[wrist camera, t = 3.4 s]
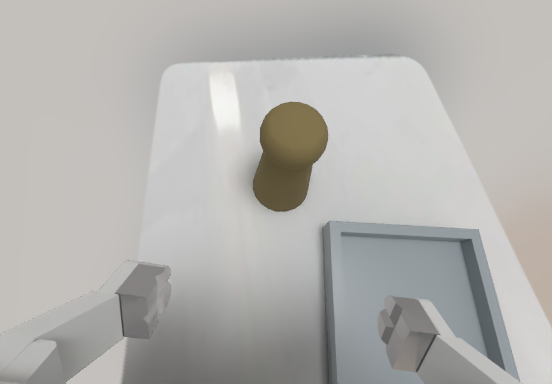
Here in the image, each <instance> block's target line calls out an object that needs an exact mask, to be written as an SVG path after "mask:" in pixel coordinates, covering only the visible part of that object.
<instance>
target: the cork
mask: <svg viewBox="0 0 552 384" xmlns="http://www.w3.org/2000/svg"><path fill="white" fill-rule="evenodd" d="M327 141H328V130H327V125H326V123H325V121H324V119H323V117H322V116H321V115H320V114H319V112H318V111H317V110H316V109H314V108H312V107H311V106H309V105H307V104H303V103H300V102H288V103H283V104H280V105H279V106H277V107H275V108H273V109H272V110H271V111H270V112H269V113H268V114H267V115H266V116H265V118H264V120H263V123H262V125H261V127H260V143H261V146H262V149H263V154H262V157H261V160H260V162H259V165H258V168H257V171H256V174H255V177H254V180H253V190H254V193H255V196H256V198H257V199H258V200H259V202H260V203H261V204H262V205H264V206H265V207H267V208H268V209H271V210H274V211H289V210H292V209H295V208H296V207H298V206H299V205H300V204H301V203H302V202H303V201H304V199H305V198H306V195H307V191H308V187H309V181H310V176H311V170H312V165H313V163H315V162H316V161H317V160H318V159H319V158H320V157H321V155H322V154H323V153H324V151H325V149H326V145H327Z"/></svg>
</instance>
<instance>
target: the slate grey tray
mask: <svg viewBox="0 0 552 384" xmlns="http://www.w3.org/2000/svg"><path fill="white" fill-rule="evenodd" d="M323 245H324V271H325V297H326V323H327V349H328V375H329V384H425V383H424V382H423V381H422V380H421V379H420V377H419V376H418V375H417V373H416V372H409V371H403V370H396V369H392V367H391V364H390V362H389V359H388V357H387V354H386V351H385V350H386V347H387V345H386V344H385V343H384V342H383V341H382V340H381V338H380V336H379V333H378V328H377V320H378V316H379V313H380V312H381V311H382V310H384V309H385V306H384V300H385V298H386V297H387V296H388V295H390V296H398V297H406V298H417V299H426V300H429V301H431V302H432V303H433V305H434V306H435V308H436V309H437V311H438V312H439V314H440V315H441V316H442V318H443V319H444V321H445V322H446V324H447V325H448V327H449V328H450V329H451V331H452V332H453V334H454V335H455V337H457V338H461V339H462V340H464V341H465V342H466V343H468V344H469V345H471V346H472V347H473V348H475V349H476V350H477V351H479V352H480V353H481V354H483V355H484V356H485V357H487V358H488V359H489V360H491V361H492V362H494V363H495V364H496V365H498V366H499V367H500V368H502V369H503V370H504V371H506V372H507V373H508V374H510V375H511V376H513V377H514V378H515V379H517V380H518V381H519V382H520V380H519V376H518V372H517V369H516V365H515V361H514V358H513V354H512V350H511V347H510V343H509V339H508V336H507V332H506V328H505V325H504V321H503V317H502V314H501V310H500V306H499V303H498V299H497V295H496V292H495V288H494V284H493V281H492V277H491V273H490V270H489V266H488V262H487V259H486V255H485V251H484V248H483V244H482V240H481V237H480V233H479V229H462V228H445V227H427V226H410V225H392V224H375V223H358V222H340V221H329V222H328V223H327V224H326V225H325V226H324V227H323Z"/></svg>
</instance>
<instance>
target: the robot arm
mask: <svg viewBox="0 0 552 384" xmlns="http://www.w3.org/2000/svg"><path fill="white" fill-rule="evenodd" d="M170 276H171V272H170V267H169V266H164V265H158V264H151V263H145V262H137V261H130V260H128V261H125V262H124V263H123V264H122V265H121V266H120V267H119V268H118V269H117V271H116V272H115V273H114V274H113V275H112V276H111V277H110V278H109V279H108V280H107V281H106V283H105V284H104V285H103V286H102V287H101V288H100V289H99V290H98V291H92V292H90V293H88V294H85V295H83V296H81V297H79V298H77V299H75V300H73V301H71V302H68V303H66V304H64V305H62V306H59V307H57V308H55V309H53V310H51V311H49V312H46V313H44V314H42V315H40V316H38V317H36V318H33V319H31V320H29V321H27V322H24V323H22V324H20V325H18V326H16V327H14V328H12V329H9V330H7V331H5V332H3V333H1V334H0V384H66V382H67V381H68V380H69V379H71V378H72V377H73V376H74V375H76V374H77V373H78V372H80V371H81V370H82V369H84V368H85V367H86V366H87V365H89V364H90V363H91V362H93V361H94V360H95V359H97V358H98V357H99V356H100V355H102V354H103V353H104V352H106V351H107V350H108V349H110V348H111V347H112V346H114V345H115V344H116V343H117V342H119V341H120V340H121V339H122V338H123V337H133V338H144V339H150V337H151V335H152V333H153V331H154V329H155V327H156V326H157V324H158V315H159V314H161V313H163V312H164V310H165V308H166V306H167V304H168V301H169V298H170V292H171V285H170V283H169V282H168V279H169V277H170ZM384 306H385V309H384V310H382V311H381V312H380V313H379V316H378V320H377V328H378V333H379V336H380V338H381V340H382V341H383V342H384V343H385V344H386V345H387V347H386V350H385V351H386V354H387V357H388V359H389V362H390V364H391V367H392V369H396V370H403V371H409V372H416V373H417V375H418V376H419V377H420V379H421V380H422V381H423V382H424V383H425V384H522V383H521V382H519V381H518V380H517V379H515V378H514V377H513V376H511V375H510V374H508V373H507V372H506V371H504V370H503V369H502V368H500V367H499V366H498V365H496V364H495V363H494V362H492V361H491V360H489V359H488V358H487V357H485V356H484V355H483V354H481V353H480V352H479V351H477V350H476V349H475V348H473V347H472V346H471V345H469V344H468V343H466V342H465V341H464V340H462V339H461V338H457V337H455V335H454V334H453V332H452V331H451V329H450V328H449V327H448V325H447V324H446V322H445V321H444V319H443V318H442V316H441V315H440V314H439V312H438V311H437V309H436V308H435V306H434V305H433V303H432V302H431V301H429V300H426V299H417V298H406V297H398V296H390V295H388V296H387V297H386V298H385V300H384Z"/></svg>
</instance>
